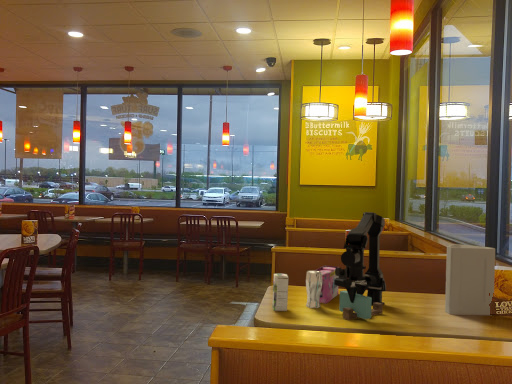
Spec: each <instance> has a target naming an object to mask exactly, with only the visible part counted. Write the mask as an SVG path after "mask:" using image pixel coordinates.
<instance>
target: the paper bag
mask: <svg viewBox="0 0 512 384" xmlns="http://www.w3.org/2000/svg"><path fill="white" fill-rule="evenodd" d="M445 263H446V266H445V296H444V297H445V299H444V300H445V303H444V304H445V305H444V312H445V313H446V314H448V315H456V316H457V315H458V316H459V315H460V316H463V315H464V316H491V315H490V306H489V304H490V303H491V301H492V297H493V293H494V294H495V273H496V271H495V269H496V248H494V247H489V246H488V247H487V246H480V245H479V246H478V245H471V244H470V245H469V244H459V243H452V244H450V245H447V246H446V262H445ZM489 293H490V296H489Z"/></svg>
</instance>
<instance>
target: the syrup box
mask: <svg viewBox="0 0 512 384" xmlns="http://www.w3.org/2000/svg"><path fill="white" fill-rule="evenodd" d="M272 282H273V284H272V285H273V286H272V303H271V304H272V307H271V308H272V310H273V312H287V311H288V296H289V290H288V289H289V275H288V274H287V273H273V281H272Z"/></svg>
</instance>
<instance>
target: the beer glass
mask: <svg viewBox="0 0 512 384" xmlns="http://www.w3.org/2000/svg"><path fill="white" fill-rule="evenodd" d="M305 275H306V276H305V288H306V296H307V298H306V299H307V301H306V304H305V307H307V308H309V309H319V308H321V303H320V293H321V288H322V272H321V271H314V270H307V271H306V274H305Z"/></svg>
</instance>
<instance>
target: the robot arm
mask: <svg viewBox="0 0 512 384" xmlns="http://www.w3.org/2000/svg"><path fill="white" fill-rule="evenodd" d="M385 225H386V221H385V218H384V217H383V216H382V215H378V214H377V213H375V212H371V211H370V212H369V211H364V212H363V214H362V217H361V219H360V220H359V222H358V224H357V226H356V227H355V228H351V230H349V231H348V233H347V234H346V236H345V241H344V245H343V249H345V251H344V252H343V253H341V256H340V260H341V263H342V265H344V266H345V268H342V267H339V268H335V275H336V276H338V277H339V278H335V280H334V285H337V286H339V287H341V288H345V289H346V290H345V291H347V292H348V295H349V298H350V301H351V303H354V299H355V295H356V294H360V295H364V294H365V292H366V290H367V293H366V296H367V297H371V298H372V303H371V306H373V303H376V302H378V303H381V304H383V305H385V302H383V292H386V291H387V284H386V280H385V278H384V272H383V271H382V269H381V268H380V247H381V245H380V241H381V240H380V239H381V238H380V236H381V235H382V233H383V231H384V229H385ZM367 245H368V268H367V270H366V265H364V261H365V259H364V257H365V256H364V255H365V249H366V248H367ZM364 270H366V271H365V273H364Z"/></svg>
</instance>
